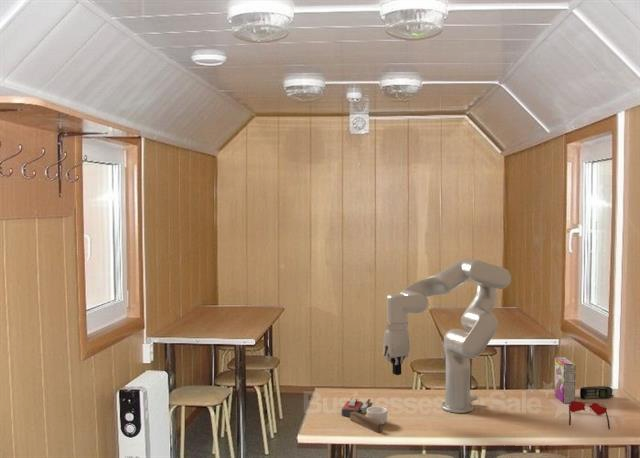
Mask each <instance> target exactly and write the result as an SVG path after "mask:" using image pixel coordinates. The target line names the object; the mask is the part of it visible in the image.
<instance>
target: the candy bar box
mask: <svg viewBox="0 0 640 458" xmlns="http://www.w3.org/2000/svg"><path fill="white" fill-rule="evenodd" d="M554 397H556V398H557V399H559V401H560V402H561V403H562V404H567V405H568V404H570V403H571V401H576V363H574V362H573V361H571V360H570V359H569V358H567V357H562V356H561V357H559V356H557V357H554Z"/></svg>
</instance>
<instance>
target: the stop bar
mask: <svg viewBox="0 0 640 458" xmlns="http://www.w3.org/2000/svg"><path fill="white" fill-rule="evenodd" d="M349 420H350V421H351V422H354V423H355V424H358V425H360V426H362V427H364V428H366V429H369V430H370V431H373V432H375V433H377V434H379V433H382V432H383V425H382V423H380V422H377V421H375V420H373V419H371V418H368V417H367V415H363V413H360V414H359V413H357V412H355V411H354V412H350V419H349Z"/></svg>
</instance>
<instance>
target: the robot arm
mask: <svg viewBox="0 0 640 458" xmlns="http://www.w3.org/2000/svg"><path fill="white" fill-rule="evenodd" d="M468 281H469V282H473V283H476V292H475V293H476V294H475V296H474V297H473V299H472V300H471V302H470V304H468V306H467V308H466V309H465V311H464V312H463V314H462V316H461V317H460V323H461V325H462V327H463V328H464V330H463V329H461V328H460V329H459V328H451V329H450V330H449V329H448V331H446V332H445V335H444V337H443V349H444V355H445V399H444V400H445V401H443V402H442V403H441V404H440V406H441V409H442V410H444V411H446V412H449V413H455V414H466V413H467V414H468V413H471V412H472V411H474V407H475V406H474V404H472V403H473V402H474V401H477V400H478V395H471V361H470V360H472V359H473V360H474V359H476V358H478V357H479V356H480V355H482V353H483V352H484V350H485V349H486V347H487V346H488V344H489V343H490V342H491V340H492V338H493V337H494V335H495V334H496V331H497V330H498V324H499V321H498V318H497V316H496V315H495V313H494V312H492V311H493V309H494V307H495V306H496V303H497V300H498V299H497V290H503V289H506V288H507V287H508V286H510V284H511V281H512V275H511V273H510V272H509V270H508V269H507V268H505V267H502V266H498V265H495V264H491V263H488V262H485V261H482V260H478V259H474V258H473V259H472V258H461V259H459V260H457V261H456V262H455V263H453V264H451V265H449V266H447V268H445V269H443V270H442V271H440V272H438V273H436V274H434V275H431V276H428V277H425V278H423V279H420V280H417V281H415V282H414V283H412V284H410V285H409V286H407V287H405V288H404V289H402V290H401V291H400V292H399V293H390V294H388V295H387V296H386V329H385V330H384V335H383V341H382V356H385V359H384V360H385V361H387V362H390V364H392V374H393V375H396V376H400V375H401V376H402V364H403V362H404V361H405V359H407V358H408V357H409V353H410V348H411V347H410V335H409V330H408V328H407V326H408V325H409V322H408V319H407V316H408V313H411V314H421V313H423V312H425V311H426V310H427V309H428V307H429V298H428V297H431V296H432V297H433V296H438V295H439V296H442V295H446V294H449V293H451V292H453V291H454V290H456V289H457V288H459V287H460V286H462V285H464V284H465V283H466V282H468ZM496 289H497V290H496ZM465 329H466V330H465ZM467 330H468V331H467Z"/></svg>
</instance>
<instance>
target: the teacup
mask: <svg viewBox="0 0 640 458" xmlns="http://www.w3.org/2000/svg"><path fill="white" fill-rule="evenodd" d="M366 417H368V418H371V419H373V420H375V421H377V422H380V423H382V426H383V425H384V424H386V422H387V419H388V409H387V408H386V407H384V406H378V405H377V406H370V407H369V406H368V408H367V411H366Z"/></svg>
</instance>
